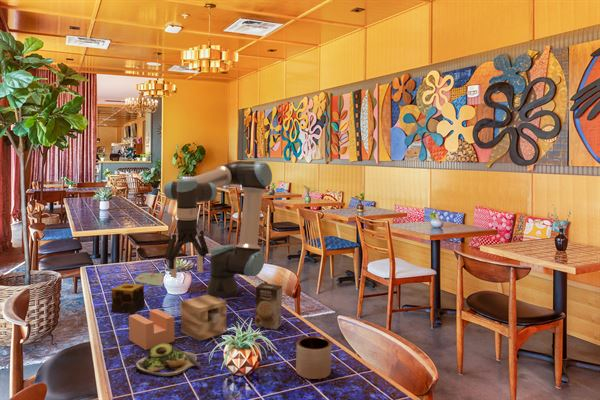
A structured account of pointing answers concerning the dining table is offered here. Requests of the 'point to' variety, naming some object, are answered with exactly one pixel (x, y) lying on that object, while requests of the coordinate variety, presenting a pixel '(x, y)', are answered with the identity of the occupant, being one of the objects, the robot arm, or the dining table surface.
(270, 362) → the dining table surface
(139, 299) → the dark brown holed cube
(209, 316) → the tan wooden bar
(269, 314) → the coffee box
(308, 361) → the planter
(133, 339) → the cradle
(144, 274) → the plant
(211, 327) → the brown notched block
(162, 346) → the salad plate
